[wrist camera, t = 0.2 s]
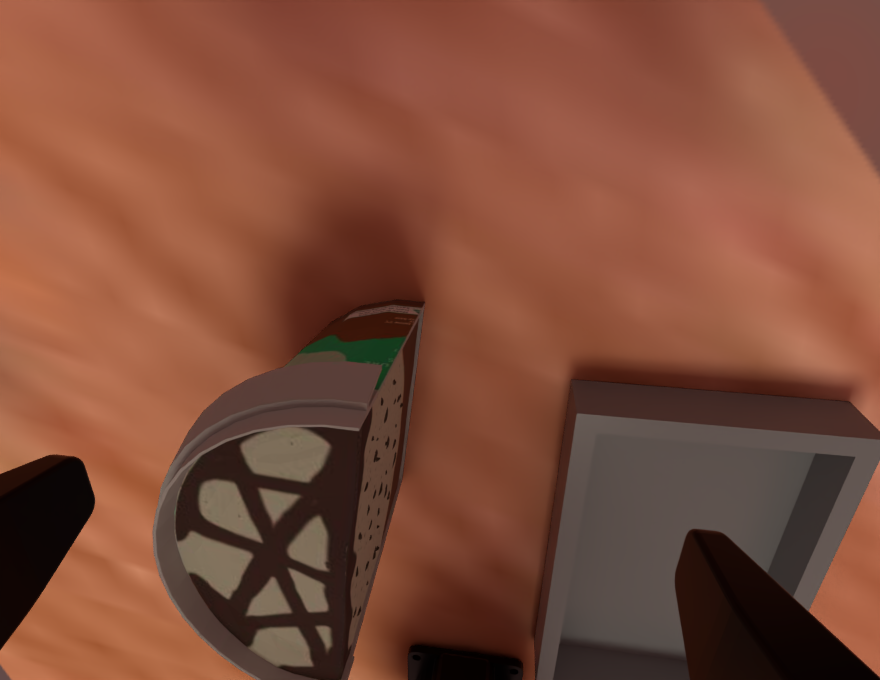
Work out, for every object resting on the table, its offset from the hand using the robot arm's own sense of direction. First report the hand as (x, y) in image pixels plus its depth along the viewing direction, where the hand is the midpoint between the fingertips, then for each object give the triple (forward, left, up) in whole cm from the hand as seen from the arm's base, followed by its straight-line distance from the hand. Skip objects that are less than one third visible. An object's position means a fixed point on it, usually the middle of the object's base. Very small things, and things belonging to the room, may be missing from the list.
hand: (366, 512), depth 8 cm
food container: (-7, +5, -14) cm, 16 cm away
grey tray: (-14, -10, -14) cm, 22 cm away
